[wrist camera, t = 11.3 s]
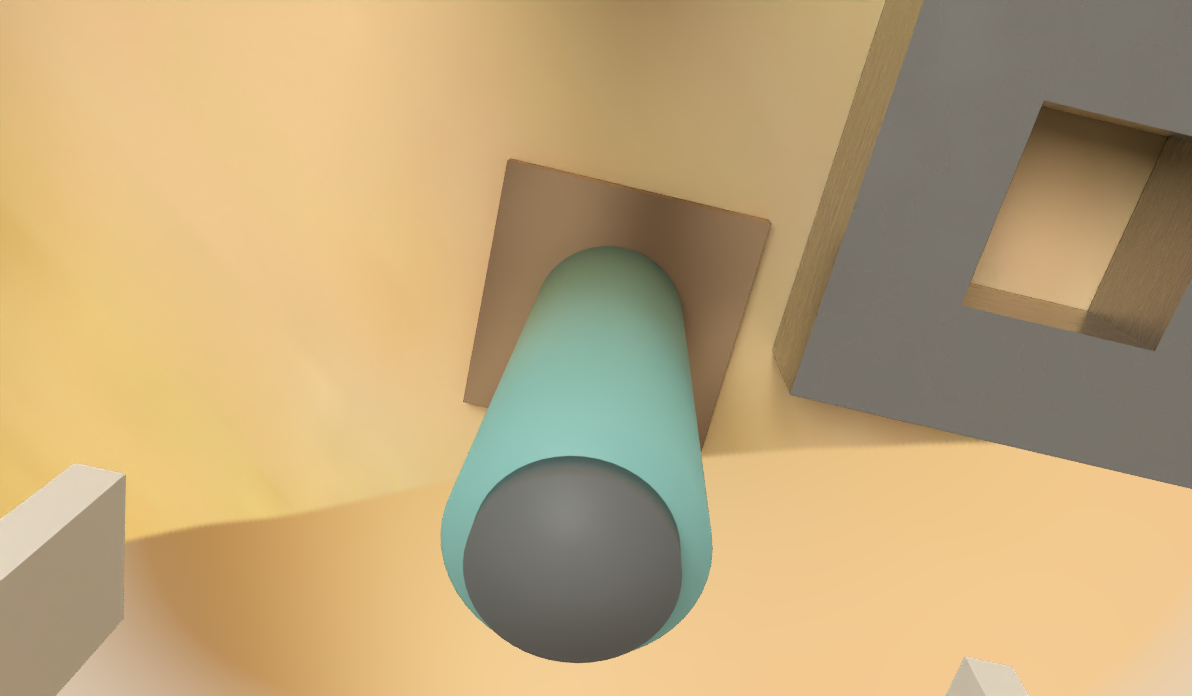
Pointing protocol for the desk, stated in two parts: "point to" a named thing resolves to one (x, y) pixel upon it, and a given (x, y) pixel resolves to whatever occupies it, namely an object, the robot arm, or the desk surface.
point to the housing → (965, 219)
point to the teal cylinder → (586, 471)
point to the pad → (624, 219)
